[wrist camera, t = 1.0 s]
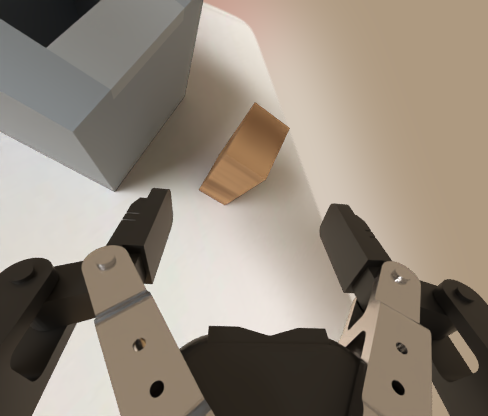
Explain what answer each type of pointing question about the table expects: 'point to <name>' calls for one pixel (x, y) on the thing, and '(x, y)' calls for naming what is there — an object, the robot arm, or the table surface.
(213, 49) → the table surface
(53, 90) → the grey box with opening
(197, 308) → the table surface
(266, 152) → the wooden block
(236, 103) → the table surface
